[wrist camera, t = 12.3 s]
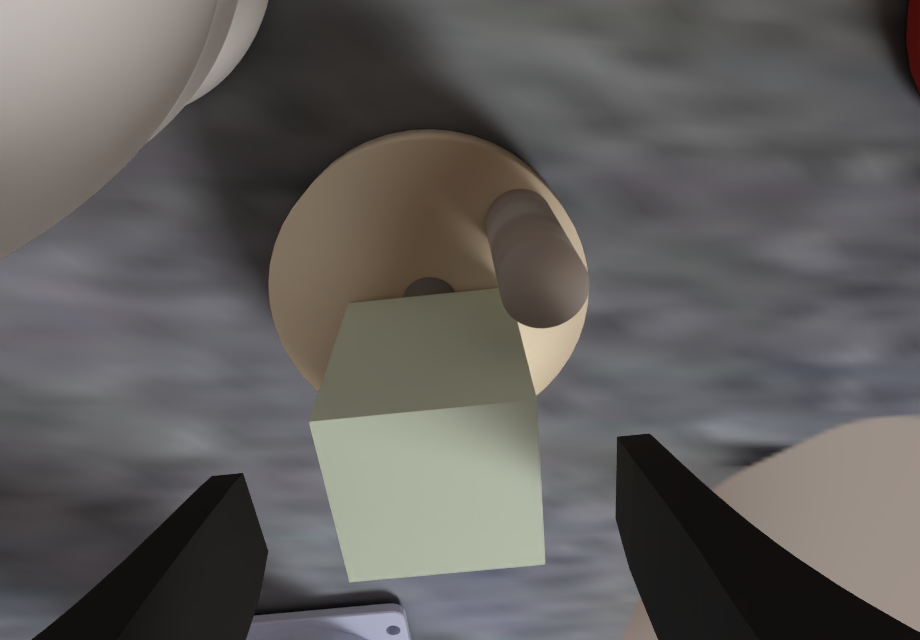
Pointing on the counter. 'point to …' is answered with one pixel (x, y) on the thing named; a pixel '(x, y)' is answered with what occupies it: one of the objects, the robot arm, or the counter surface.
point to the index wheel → (428, 245)
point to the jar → (99, 92)
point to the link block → (430, 438)
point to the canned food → (914, 40)
